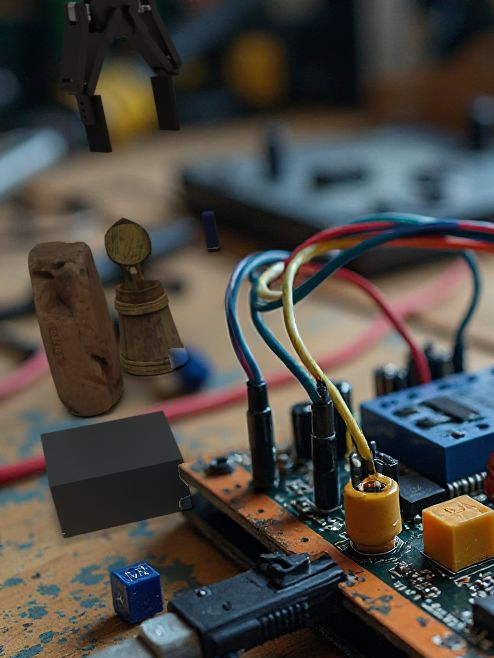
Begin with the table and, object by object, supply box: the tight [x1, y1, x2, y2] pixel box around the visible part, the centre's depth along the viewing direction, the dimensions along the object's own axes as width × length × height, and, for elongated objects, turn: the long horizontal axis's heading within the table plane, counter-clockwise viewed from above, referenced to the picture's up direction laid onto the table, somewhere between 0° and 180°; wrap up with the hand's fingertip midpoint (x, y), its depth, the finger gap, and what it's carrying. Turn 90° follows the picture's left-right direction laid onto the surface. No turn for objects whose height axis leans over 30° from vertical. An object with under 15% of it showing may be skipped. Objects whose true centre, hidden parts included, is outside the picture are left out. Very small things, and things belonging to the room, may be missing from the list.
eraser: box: [201, 210, 221, 253], centre depth 191 cm, size 2×2×7 cm
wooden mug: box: [103, 217, 186, 376], centre depth 145 cm, size 9×14×18 cm, turn 22°
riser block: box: [39, 410, 192, 539], centre depth 114 cm, size 13×13×6 cm
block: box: [27, 240, 124, 417], centre depth 132 cm, size 11×8×20 cm
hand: (137, 140), depth 135 cm, fingers open, 13 cm apart
